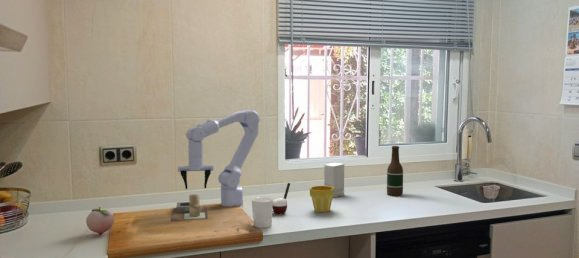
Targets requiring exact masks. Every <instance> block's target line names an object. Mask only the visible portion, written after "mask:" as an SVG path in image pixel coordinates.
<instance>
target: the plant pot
mask: <svg viewBox="0 0 579 258" xmlns="http://www.w3.org/2000/svg"><path fill="white" fill-rule="evenodd" d="M333 196H334V188H333V187H331V186H324V185H314V186H311V187H309V197H311V201H312V205H313V208H314V212H317V213H328V212H330V211H331V206H332V201H333Z"/></svg>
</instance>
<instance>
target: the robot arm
mask: <svg viewBox="0 0 579 258" xmlns="http://www.w3.org/2000/svg"><path fill="white" fill-rule="evenodd" d="M260 121H261V118H260V116H259V113H258V112H257V111H256V110H253V109H251V110H247V109H242V110H240V111H239V110H238V111H235V112H233V113H230V114H228V115H227V116H225V117H222V118H220V119H218V120H215V119H210V118H209V119H207V120H206V121H205V122H202V123H201V124H200V123H198V124H196V127H195V126H191V127H190V128H188V130H187V132H186V133H185V135H186V138H187V140H188V141H187V142H188V146H187V148H188V151H187V152H188V165H182V166H177V172H179V173H180V176H181V177H182V180H183V182H184V187H185V190H188V175H187V174H188V172H204V183H203V184H204V185H203V187H204V189H207V183H208V180H209V177H210V175H211V174H212V172H213V171H214V165H204V163H203V161H204V159H203V140H204V139H205V138H207V137H210V136H213V135H214V134H216V133H219V131H220V129H221V128H224V127H225V126H226V127H227V126H229V125H232V124H234V123H239V124H240V125H241V127H242V129H243V131H244V133H243V136H242V138H241V140H240V142H239V144H238V147H237V148H236V150H235V152H234V154H233V157H232V158H231V160H230V162H229V164H227V166H225V167H224V169H223V171H221V172H220V173H219V175H218V177H217V178H218V182H219V184H220V205H221V206H222V207H237V206H238V207H239V206H241V207H242V208H244V196H243V187H240V186H239V185H240V183H241V176H242V167H243V165H244V164H245V161H246V159H247V157H248V155H249V153H250V151H251V149H252V147H253V145H254V143H255V141H256V139H257V137H258V135H259V123H260Z"/></svg>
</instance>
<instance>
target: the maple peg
mask: <svg viewBox="0 0 579 258" xmlns="http://www.w3.org/2000/svg"><path fill="white" fill-rule="evenodd" d="M188 197H189V199H188V202H189V214H190V216H191V217H197V216H200V206H201V205H200V204H201V200H200V199H201V197H200V194H190V195H189V196H188Z"/></svg>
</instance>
